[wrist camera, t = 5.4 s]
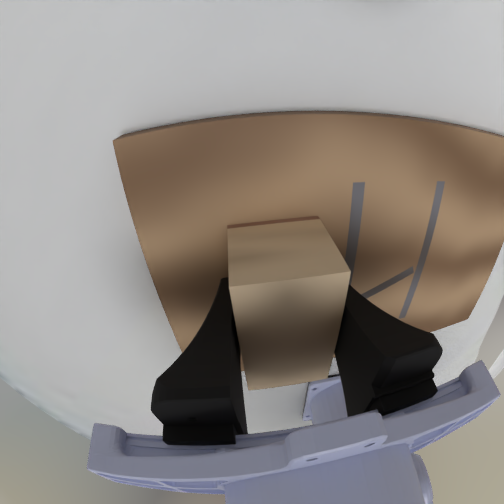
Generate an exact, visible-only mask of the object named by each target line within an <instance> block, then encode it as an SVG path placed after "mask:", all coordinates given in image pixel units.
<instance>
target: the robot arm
mask: <svg viewBox="0 0 504 504" xmlns="http://www.w3.org/2000/svg"><path fill="white" fill-rule="evenodd" d="M442 351H443V350H442V347H441V346H440V344H439V342H438V340H437V339H436V337H435V336H434V334H432V333H430V332H427V331H424V330H421V329H418V328H416V327H413V326H411V325H409V324H407V323H405V322H403V321H401V320H399V319H397V318H395V317H393V316H391V315H390V314H388V313H386V312H385V311H383V310H382V309H380V308H379V307H377V306H376V305H374V304H373V303H371V302H370V301H369V300H367V299H366V298H365V297H364V296H362V295H361V294H360V293H359V292H357V291H356V290H355V289H354V288H353V287H352V286H351V285H350V284H349V285H348V291H347V296H346V301H345V306H344V311H343V316H342V321H341V325H340V330H339V334H338V338H337V343H336V347H335V351H334V354H335V357H336V361H337V365H338V369H339V374H340V376H336V377H331V378H327V379H322V380H317V381H312V382H311V383H309V386H308V392H307V397H306V402H305V407H304V412H303V417H302V418H303V420H304V421H307V420H312V424H313V425H310V426H305V427H299V428H293V429H287V430H280V431H272V432H264V433H255V434H248V432H247V424H246V415H245V406H244V397H243V387H242V377H241V350H240V345H239V339H238V334H237V329H236V323H235V318H234V313H233V307H232V302H231V296H230V290H229V277H226V278H222V279H221V280H220V284H219V287H218V291H217V293H216V296H215V299H214V301H213V303H212V306H211V308H210V310H209V312H208V314H207V316H206V318H205V320H204V322H203V324H202V326H201V327H200V329H199V331H198V332H197V334H196V335H195V337H194V338H193V340H192V341H191V342H190V344H189V345H188V347H187V348H186V349H185V350H184V352H183V353H182V354H181V355H180V356H179V357H178V359H177V360H176V361H175V362H174V363H173V364H172V365H171V366H170V367H169V368H168V369H167V370H166V371H165V372H164V373H163V374H162V375H161V376H160V377H158V378H157V380H156V383H155V386H154V390H153V394H152V402H151V411H152V413H153V414H154V415H155V416H156V417H157V418H158V419H159V420H160V421H161V422H162V424H163V436H156V435H142V434H131V433H126V432H125V431H124V430H123V429H122V428H120V427H117V426H113V425H106V424H99V423H95V424H94V426H93V432H92V437H91V444H90V450H89V457H88V464H87V469H88V470H89V471H91V472H93V473H95V474H97V475H100V476H103V477H105V478H107V479H109V480H112V481H114V482H119V483H123V484H129V485H134V486H140V487H146V488H153V489H160V490H168V491H177V492H187V493H202V494H225V501H226V504H433V501H432V500H433V493H432V487H431V483H430V479H429V476H428V473H427V470H426V467H425V465H424V462H423V460H422V458H421V456H420V455H417V454H414V453H413V452H415V451H417V450H419V449H421V448H423V447H425V446H427V445H429V444H431V443H433V442H435V441H437V440H438V439H441V438H442V437H444V436H446V435H448V434H450V433H451V432H453V431H455V430H456V429H458V428H460V427H462V426H463V425H465V424H467V423H468V422H470V421H471V420H473V419H475V418H476V417H477V416H479V415H480V414H481V413H482V412H483V411H484V410H486V409H487V408H488V407H489V406H490V405H491V404H492V403H493V402H494V401H495V400H497V399H498V398H499V397H500V395H501V394H500V392H499V390H498V388H497V386H496V385H495V383H494V381H493V379H492V377H491V375H490V373H489V371H488V370H487V368H486V366H485V364H484V363H483V361H482V360H480V361H478V362H476V363H474V364H472V365H470V366H468V367H467V368H466V369H464V370H463V371H462V373H461V374H460V375H459V377H457V378H455V379H453V380H451V381H449V382H447V383H445V384H442V385H440V386H438V387H436V385H435V383H434V381H433V379H432V378H434V373H433V371H432V369H433V368H434V366H435V365H436V363H437V362H438V360H439V359H440V357H441V355H442Z"/></svg>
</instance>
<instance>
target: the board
mask: <svg viewBox="0 0 504 504" xmlns="http://www.w3.org/2000/svg"><path fill="white" fill-rule="evenodd" d="M113 145H114V149H115V154H116V158H117V163H118V167H119V171H120V175H121V179H122V183H123V187H124V191H125V194H126V198H127V202H128V205H129V209H130V212H131V216H132V219H133V222H134V226H135V229H136V232H137V235H138V239H139V242H140V245H141V248H142V251H143V254H144V257H145V260H146V263H147V265H148V268H149V271H150V274H151V277H152V279H153V282H154V285H155V288H156V290H157V293H158V295H159V298H160V301H161V303H162V306H163V308H164V311H165V313H166V316H167V318H168V321H169V323H170V325H171V328H172V330H173V333H174V335H175V337H176V339H177V342H178V344H179V346H180V349H181V351H182V353H183V352H184V350H185V349H186V348H187V347H188V345H189V344H190V342H191V341H192V340H193V338H194V337H195V335H196V334H197V332H198V331H199V329H200V327H201V326H202V324H203V322H204V320H205V318H206V316H207V314H208V312H209V310H210V308H211V306H212V303H213V301H214V299H215V296H216V293H217V291H218V287H219V284H220V280H221V279H222V278H226V277H229V274H228V237H227V225H235V224H243V223H252V222H261V221H271V220H281V219H290V218H301V217H311V216H318V217H319V218H320V220H321V222H322V223H323V225H324V226H325V228H326V230H327V231H328V233H329V235H330V236H331V238H332V240H333V241H334V243H335V245H336V246H337V248H338V250H339V252H340V253H341V255H342V257H343V258H344V260H345V262H346V264H347V265H348V267H349V269H350V271H351V274H350V280H349V284H350V285H351V286H352V287H353V288H354V289H355V290H356V291H357V292H359V293H360V294H361V295H362V296H364V297H365V298H366V299H367V300H369V301H370V302H371V303H373V304H374V305H376V306H377V307H379V308H380V309H382V310H383V311H385V312H386V313H388V314H390V315H391V316H393V317H395V318H397V319H399V320H401V321H403V322H405V323H407V324H409V325H411V326H413V327H416V328H418V329H421V330H424V331H427V332H432V331H435V330H438V329H441V328H444V327H447V326H450V325H453V324H456V323H458V322H461V321H464V320H466V319H468V318H469V316H470V314H471V312H472V310H473V309H474V307H475V305H476V303H477V301H478V299H479V297H480V295H481V293H482V291H483V289H484V287H485V285H486V283H487V280H488V278H489V276H490V274H491V272H492V269H493V267H494V265H495V262H496V260H497V257H498V255H499V252H500V250H501V247H502V244H503V242H504V136H502V135H498V134H495V133H491V132H487V131H483V130H479V129H475V128H471V127H466V126H462V125H457V124H452V123H447V122H441V121H435V120H429V119H423V118H416V117H408V116H400V115H390V114H379V113H366V112H347V111H286V112H267V113H253V114H241V115H232V116H223V117H215V118H207V119H200V120H193V121H187V122H181V123H176V124H170V125H165V126H160V127H155V128H150V129H146V130H141V131H137V132H133V133H128V134H124V135H122V136H120V137H118V138H116V139H115V140H113ZM333 357H335V354H334V355H333ZM241 371H245V370H244V365H243V360H242V355H241Z"/></svg>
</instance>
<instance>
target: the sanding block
mask: <svg viewBox="0 0 504 504" xmlns="http://www.w3.org/2000/svg"><path fill="white" fill-rule="evenodd" d="M227 237H228V274H229V290H230V296H231V302H232V307H233V313H234V318H235V323H236V329H237V334H238V339H239V345H240V350H241V355H242V360H243V365H244V370H245V375H246V380H247V385H248V390H257V389H266V388H273V387H281V386H288V385H294V384H300V383H306V382H312V381H317V380H322V379H327V378H328V374H329V370H330V367H331V363H332V359H333V355H334V351H335V347H336V343H337V338H338V334H339V330H340V325H341V321H342V316H343V311H344V306H345V301H346V296H347V291H348V285H349V280H350V274H351V271H350V269H349V267H348V265H347V264H346V262H345V260H344V258H343V257H342V255H341V253H340V252H339V250H338V248H337V246H336V245H335V243H334V241H333V240H332V238H331V236H330V235H329V233H328V231H327V230H326V228H325V226H324V225H323V223H322V222H321V220H320V218H319V217H318V216H311V217H301V218H290V219H281V220H271V221H261V222H252V223H243V224H235V225H227Z"/></svg>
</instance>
